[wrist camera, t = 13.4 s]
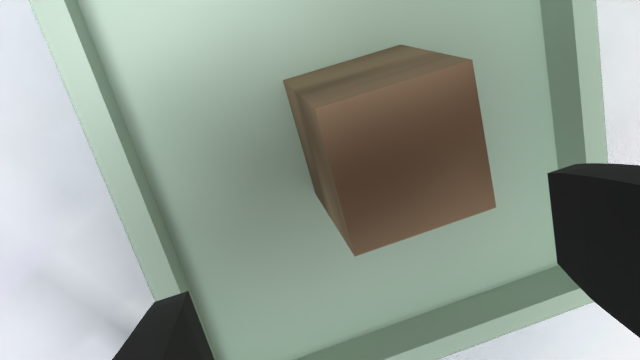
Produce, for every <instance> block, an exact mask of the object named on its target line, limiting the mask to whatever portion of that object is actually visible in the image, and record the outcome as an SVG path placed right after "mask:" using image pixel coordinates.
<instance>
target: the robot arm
mask: <svg viewBox="0 0 640 360" xmlns="http://www.w3.org/2000/svg"><path fill="white" fill-rule="evenodd" d="M547 175H548V184H549V193H550V202H551V211H552V220H553V229H554V238H555V247H556V256H557V264H558V265H559V266H560V267H561V268H562V269H563V270H564V271H565V272H566V273H567V275H568V276H569V277H570V278H571V279H572V280H573V281H574V282H575V283H576V284H577V285H578V286H579V287H580V288H581V289H582V290H583V291H584V292H585V293H586V294H587V295H588V296H589V297H590V298H591V299H592V300H593V301H594V302H595V303H597V304H598V305H599V306H600V307H602V308H603V309H604V310H605V311H607V312H608V313H609V314H610V315H612V316H613V317H614V318H615V319H617V320H618V321H619V322H620V323H622V324H623V325H624V326H625V327H627V328H628V329H629V330H631V331H632V332H633V333H634V334H636V335H637V336H638V337H640V166H638V165H624V164H605V163H583V164H574V165H571V166H568V167H565V168H562V169H558V170H555V171H552V172H549V173H547ZM112 360H215V359H214V357H213V354H212V352H211V349H210V346H209V344H208V341H207V338H206V336H205V333H204V331H203V328H202V325H201V323H200V320H199V318H198V315H197V312H196V310H195V307H194V304H193V302H192V299H191V297H190V294H189V291H186V292H183V293H180V294H177V295H174V296H171V297H168V298H165V299H162V300H159V301H156V302H155V303H154V304H153V305H152V306H151V307H150V309H149V310H148V311H147V313H146V314H145V315H144V317H143V318H142V319H141V321H140V322H139V324H138V325H137V326H136V328H135V329H134V331H133V332H132V333H131V335H130V336H129V338H128V339H127V340H126V342H125V343H124V344H123V346H122V347H121V349H120V350H119V351H118V353H117V354H116V355H115V357H114V358H113V359H112Z"/></svg>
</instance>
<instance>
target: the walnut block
mask: <svg viewBox="0 0 640 360" xmlns="http://www.w3.org/2000/svg"><path fill="white" fill-rule="evenodd" d="M283 83H284V86H285V90H286V93H287V97H288V100H289V104H290V107H291V111H292V114H293V118H294V121H295V125H296V128H297V132H298V135H299V138H300V142H301V145H302V149H303V152H304V156H305V159H306V163H307V166H308V170H309V173H310V177H311V180H312V184H313V187H314V191H315V194H316V196H317V197H318V199H319V200H320V202H321V204H322V205H323V207H324V208H325V210H326V212H327V213H328V215H329V216H330V218H331V220H332V221H333V223H334V224H335V226H336V228H337V229H338V231H339V232H340V234H341V236H342V237H343V239H344V240H345V242H346V244H347V245H348V247H349V248H350V250H351V252H352V253H353V255H354V256H358V255H361V254H364V253H367V252H370V251H372V250H375V249H378V248H381V247H384V246H387V245H390V244H393V243H396V242H398V241H401V240H404V239H407V238H410V237H413V236H416V235H419V234H422V233H424V232H427V231H430V230H433V229H436V228H439V227H442V226H445V225H448V224H450V223H453V222H456V221H459V220H462V219H465V218H468V217H471V216H474V215H476V214H479V213H482V212H485V211H488V210H491V209H494V208H496V202H495V196H494V189H493V183H492V177H491V171H490V165H489V159H488V153H487V146H486V140H485V134H484V128H483V122H482V116H481V110H480V103H479V97H478V91H477V85H476V79H475V73H474V67H473V60H471V59H466V58H462V57H457V56H452V55H448V54H443V53H438V52H434V51H429V50H424V49H420V48H415V47H410V46H406V45H397V46H394V47H391V48H387V49H384V50H381V51H377V52H374V53H371V54H368V55H364V56H361V57H358V58H354V59H351V60H348V61H344V62H341V63H338V64H335V65H331V66H328V67H325V68H321V69H318V70H315V71H312V72H308V73H305V74H302V75H298V76H295V77H292V78H288V79H285V80H283Z"/></svg>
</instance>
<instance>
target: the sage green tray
mask: <svg viewBox="0 0 640 360" xmlns="http://www.w3.org/2000/svg"><path fill="white" fill-rule="evenodd" d="M29 2H30V5H31V7H32V10H33V12H34V14H35V17H36V19H37V22H38V24H39V26H40V29H41V31H42V33H43V36H44V38H45V41H46V43H47V45H48V48H49V50H50V52H51V55H52V57H53V60H54V62H55V64H56V67H57V69H58V72H59V74H60V76H61V79H62V81H63V83H64V86H65V88H66V91H67V93H68V95H69V98H70V100H71V102H72V105H73V107H74V110H75V112H76V114H77V117H78V119H79V121H80V124H81V126H82V129H83V131H84V133H85V136H86V138H87V141H88V143H89V145H90V148H91V150H92V152H93V155H94V157H95V160H96V162H97V164H98V167H99V169H100V171H101V174H102V176H103V179H104V181H105V183H106V186H107V188H108V191H109V193H110V195H111V198H112V200H113V202H114V205H115V207H116V210H117V212H118V214H119V217H120V219H121V221H122V224H123V226H124V229H125V231H126V233H127V236H128V238H129V240H130V243H131V245H132V248H133V250H134V252H135V255H136V257H137V260H138V262H139V264H140V267H141V269H142V271H143V274H144V276H145V279H146V281H147V283H148V286H149V288H150V290H151V293H152V295H153V298H154V300H155V302H156V301H159V300H162V299H165V298H168V297H171V296H174V295H177V294H180V293H183V292H186V291H189V294H190V297H191V299H192V302H193V304H194V307H195V310H196V312H197V315H198V318H199V320H200V323H201V325H202V328H203V331H204V333H205V336H206V338H207V341H208V344H209V346H210V349H211V352H212V354H213V357H214V359H215V360H437V359H440V358H443V357H445V356H448V355H451V354H454V353H456V352H459V351H462V350H464V349H467V348H470V347H473V346H475V345H478V344H481V343H483V342H486V341H489V340H492V339H494V338H497V337H500V336H502V335H505V334H508V333H511V332H513V331H516V330H519V329H521V328H524V327H527V326H530V325H532V324H535V323H538V322H541V321H543V320H546V319H549V318H551V317H554V316H557V315H560V314H562V313H565V312H568V311H570V310H573V309H576V308H579V307H581V306H584V305H587V304H589V303H592V302H594V301H593V300H592V299H591V298H590V297H589V296H588V295H587V294H586V293H585V292H584V291H583V290H582V289H581V288H580V287H579V286H578V285H577V284H576V283H575V282H574V281H573V280H572V279H571V278H570V277H569V276H568V275H567V273H566V272H565V271H564V270H563V269H562V268H561V267H560V266H559V265H558V264H557V256H556V247H555V238H554V229H553V220H552V211H551V202H550V193H549V184H548V175H547V173H549V172H552V171H555V170H558V169H562V168H565V167H568V166H571V165H574V164H583V163H605V164H608V156H607V142H606V129H605V115H604V102H603V88H602V75H601V61H600V48H599V34H598V21H597V7H596V0H29ZM397 45H406V46H410V47H415V48H420V49H424V50H429V51H434V52H438V53H443V54H448V55H452V56H457V57H462V58H466V59H471V60H473V67H474V73H475V79H476V85H477V91H478V97H479V103H480V110H481V116H482V122H483V128H484V134H485V140H486V146H487V153H488V159H489V165H490V171H491V177H492V183H493V189H494V196H495V202H496V208H494V209H491V210H488V211H485V212H482V213H479V214H476V215H474V216H471V217H468V218H465V219H462V220H459V221H456V222H453V223H450V224H448V225H445V226H442V227H439V228H436V229H433V230H430V231H427V232H424V233H422V234H419V235H416V236H413V237H410V238H407V239H404V240H401V241H398V242H396V243H393V244H390V245H387V246H384V247H381V248H378V249H375V250H372V251H370V252H367V253H364V254H361V255H358V256H354V255H353V253H352V252H351V250H350V248H349V247H348V245H347V244H346V242H345V240H344V239H343V237H342V236H341V234H340V232H339V231H338V229H337V228H336V226H335V224H334V223H333V221H332V220H331V218H330V216H329V215H328V213H327V212H326V210H325V208H324V207H323V205H322V204H321V202H320V200H319V199H318V197H317V196H316V194H315V191H314V187H313V184H312V180H311V177H310V173H309V170H308V166H307V163H306V159H305V156H304V152H303V149H302V145H301V142H300V138H299V135H298V132H297V128H296V125H295V121H294V118H293V114H292V111H291V107H290V104H289V100H288V97H287V93H286V90H285V86H284V83H283V80H285V79H288V78H292V77H295V76H298V75H302V74H305V73H308V72H312V71H315V70H318V69H321V68H325V67H328V66H331V65H335V64H338V63H341V62H344V61H348V60H351V59H354V58H358V57H361V56H364V55H368V54H371V53H374V52H377V51H381V50H384V49H387V48H391V47H394V46H397Z"/></svg>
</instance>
